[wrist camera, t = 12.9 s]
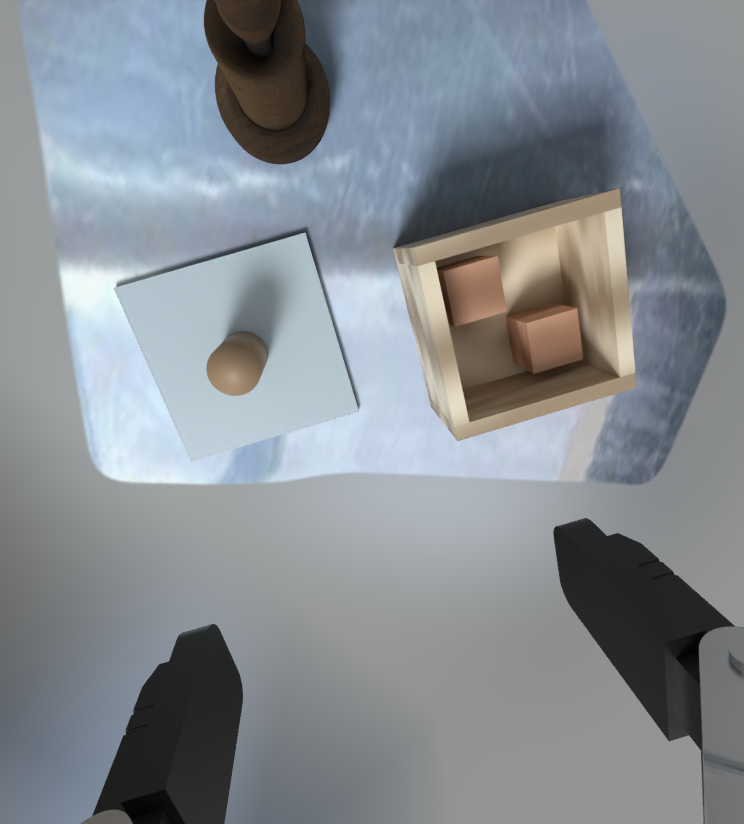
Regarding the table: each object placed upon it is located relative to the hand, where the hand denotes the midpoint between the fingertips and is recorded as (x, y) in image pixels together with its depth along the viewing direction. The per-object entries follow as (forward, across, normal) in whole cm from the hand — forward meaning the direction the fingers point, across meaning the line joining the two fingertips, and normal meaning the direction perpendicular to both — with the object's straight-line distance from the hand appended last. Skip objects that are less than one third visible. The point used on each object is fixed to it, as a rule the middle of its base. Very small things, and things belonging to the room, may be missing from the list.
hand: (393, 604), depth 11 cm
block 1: (+25, -10, -3) cm, 27 cm away
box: (+26, -12, -1) cm, 28 cm away
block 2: (+25, -14, +1) cm, 28 cm away
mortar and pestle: (+26, -1, -17) cm, 31 cm away
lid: (+26, +6, -2) cm, 27 cm away
